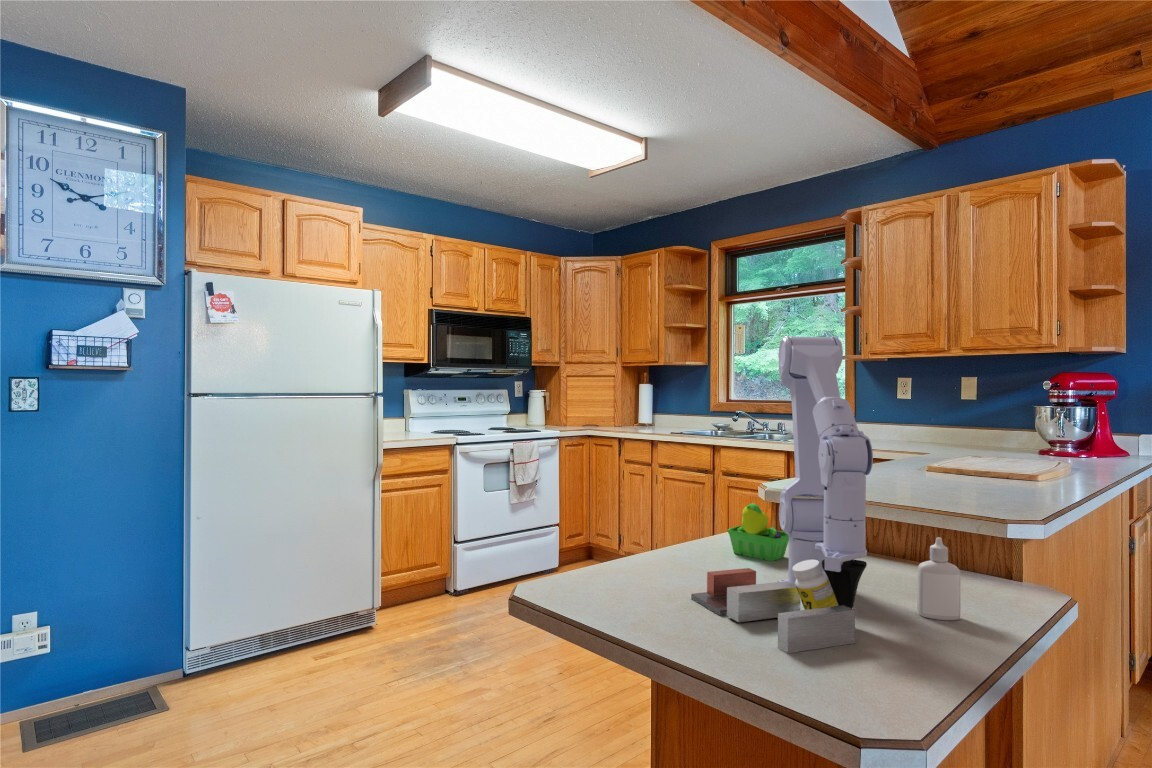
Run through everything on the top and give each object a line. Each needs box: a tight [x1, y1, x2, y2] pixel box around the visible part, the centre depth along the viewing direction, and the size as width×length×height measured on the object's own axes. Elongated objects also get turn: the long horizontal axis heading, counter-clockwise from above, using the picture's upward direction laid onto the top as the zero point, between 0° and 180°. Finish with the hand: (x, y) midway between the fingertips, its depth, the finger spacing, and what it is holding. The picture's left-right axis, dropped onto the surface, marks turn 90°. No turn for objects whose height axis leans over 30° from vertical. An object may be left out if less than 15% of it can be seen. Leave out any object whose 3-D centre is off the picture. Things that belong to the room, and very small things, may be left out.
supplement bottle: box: [792, 560, 839, 610], centre depth 94 cm, size 5×5×8 cm
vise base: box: [690, 591, 727, 617], centre depth 103 cm, size 12×8×1 cm
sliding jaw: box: [706, 567, 801, 623], centre depth 101 cm, size 11×11×4 cm
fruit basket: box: [727, 502, 789, 562], centre depth 135 cm, size 11×9×11 cm
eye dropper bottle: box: [916, 536, 961, 621], centre depth 99 cm, size 4×6×12 cm
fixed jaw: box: [777, 605, 856, 654], centre depth 86 cm, size 11×2×4 cm, turn 110°
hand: (843, 610), depth 95 cm, fingers closed, pressing on supplement bottle
